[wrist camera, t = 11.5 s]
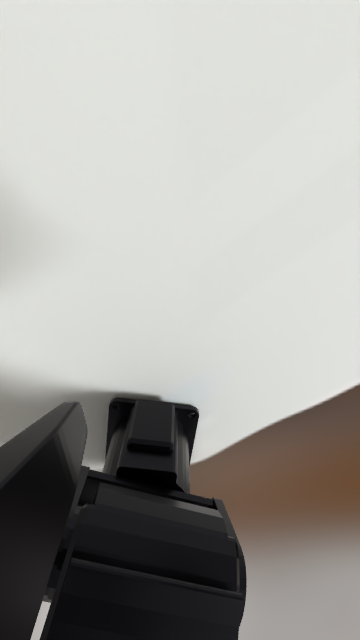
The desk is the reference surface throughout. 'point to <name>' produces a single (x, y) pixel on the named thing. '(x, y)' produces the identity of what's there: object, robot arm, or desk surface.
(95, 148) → the desk surface
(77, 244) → the desk surface
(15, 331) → the desk surface
